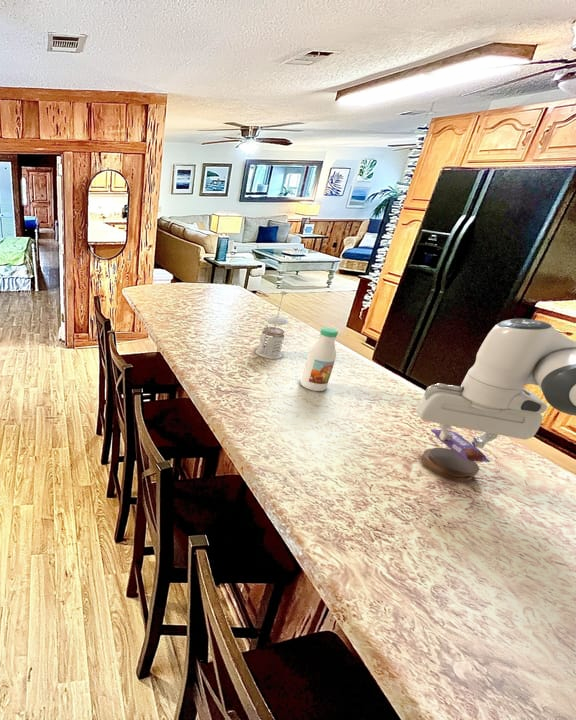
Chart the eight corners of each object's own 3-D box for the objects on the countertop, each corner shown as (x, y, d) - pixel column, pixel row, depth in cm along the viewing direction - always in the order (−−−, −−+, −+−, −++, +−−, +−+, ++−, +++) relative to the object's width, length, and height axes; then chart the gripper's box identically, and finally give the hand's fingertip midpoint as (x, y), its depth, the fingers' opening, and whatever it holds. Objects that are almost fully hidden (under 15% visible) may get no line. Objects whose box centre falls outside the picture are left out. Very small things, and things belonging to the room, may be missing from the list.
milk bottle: (296, 385, 128) (312, 329, 119) (304, 377, 133) (320, 323, 124) (322, 394, 123) (340, 336, 114) (328, 385, 128) (347, 329, 119)
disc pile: (462, 461, 95) (467, 451, 94) (480, 487, 87) (486, 477, 86) (415, 451, 98) (420, 441, 97) (429, 475, 90) (434, 465, 89)
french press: (287, 355, 149) (304, 292, 138) (269, 362, 143) (285, 297, 132) (265, 346, 157) (279, 286, 146) (247, 352, 151) (260, 290, 140)
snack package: (431, 426, 94) (452, 427, 94) (428, 432, 95) (449, 433, 95) (469, 457, 84) (493, 458, 84) (465, 464, 85) (489, 465, 85)
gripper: (435, 388, 84) (411, 439, 90) (558, 408, 77) (523, 462, 83) (425, 375, 89) (403, 424, 95) (540, 393, 83) (508, 445, 89)
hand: (460, 442), depth 89 cm, fingers closed on snack package, 5 cm apart
